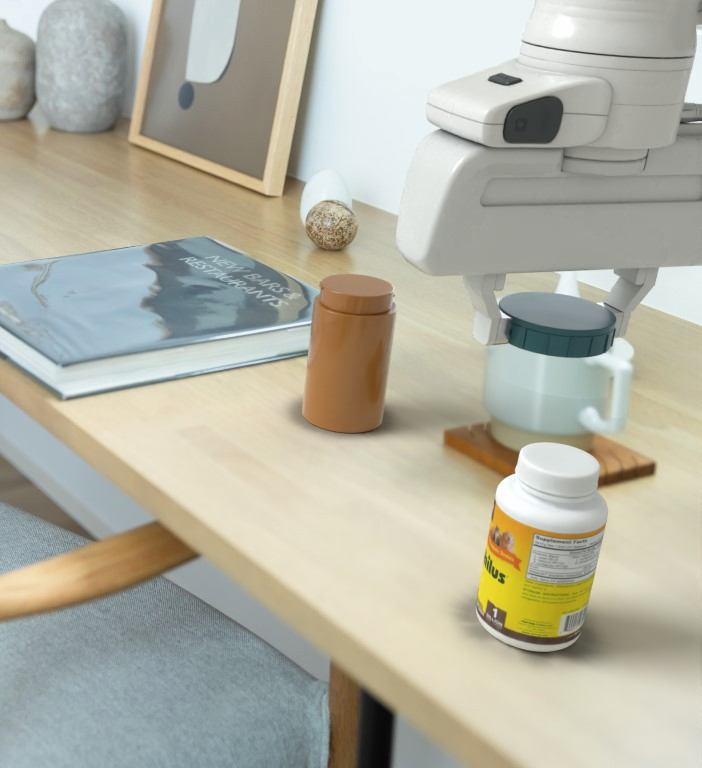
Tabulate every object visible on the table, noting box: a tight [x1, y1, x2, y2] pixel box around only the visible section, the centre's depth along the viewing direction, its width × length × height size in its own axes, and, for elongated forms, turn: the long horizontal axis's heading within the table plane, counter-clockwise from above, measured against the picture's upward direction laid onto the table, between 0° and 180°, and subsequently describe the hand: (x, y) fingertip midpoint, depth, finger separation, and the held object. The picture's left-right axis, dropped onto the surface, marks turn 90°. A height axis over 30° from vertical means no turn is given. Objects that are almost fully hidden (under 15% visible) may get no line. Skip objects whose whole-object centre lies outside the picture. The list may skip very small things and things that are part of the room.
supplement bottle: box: [475, 441, 609, 653], centre depth 62 cm, size 6×6×10 cm
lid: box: [498, 291, 616, 359], centre depth 69 cm, size 7×7×2 cm
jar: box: [301, 273, 398, 434], centre depth 86 cm, size 6×6×10 cm
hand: (547, 338), depth 69 cm, fingers closed on lid, 6 cm apart
